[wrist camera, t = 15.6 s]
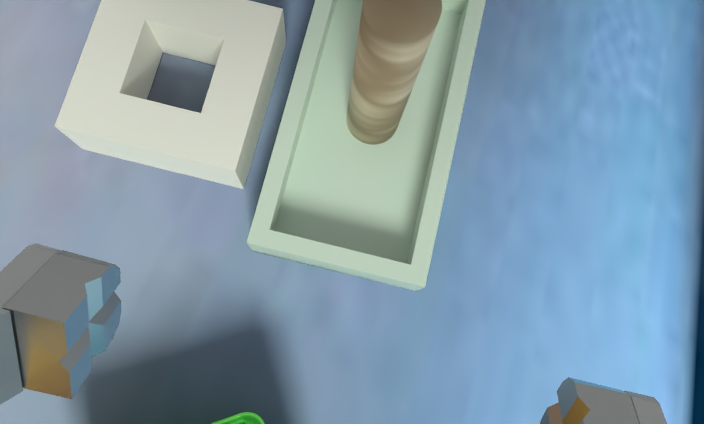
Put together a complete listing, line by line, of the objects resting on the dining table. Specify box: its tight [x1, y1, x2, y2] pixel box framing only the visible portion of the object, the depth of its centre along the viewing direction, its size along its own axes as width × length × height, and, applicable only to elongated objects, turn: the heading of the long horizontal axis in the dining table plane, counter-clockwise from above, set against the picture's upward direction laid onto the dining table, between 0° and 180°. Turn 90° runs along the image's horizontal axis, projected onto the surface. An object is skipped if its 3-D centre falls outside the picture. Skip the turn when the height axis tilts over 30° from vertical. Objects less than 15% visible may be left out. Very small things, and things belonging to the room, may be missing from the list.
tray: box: [247, 0, 486, 291], centre depth 36 cm, size 10×19×3 cm, turn 166°
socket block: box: [55, 0, 286, 189], centre depth 35 cm, size 10×10×4 cm
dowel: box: [347, 0, 442, 145], centre depth 30 cm, size 3×3×13 cm
